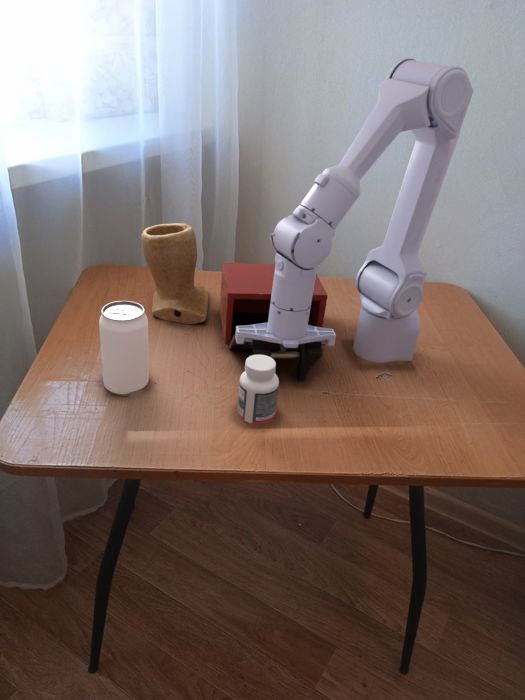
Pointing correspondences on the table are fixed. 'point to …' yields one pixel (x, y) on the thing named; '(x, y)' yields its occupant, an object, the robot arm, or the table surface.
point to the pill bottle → (258, 390)
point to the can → (124, 347)
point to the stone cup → (174, 273)
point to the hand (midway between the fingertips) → (278, 383)
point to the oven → (256, 297)
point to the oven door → (274, 354)
